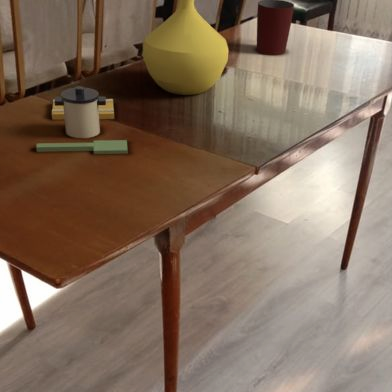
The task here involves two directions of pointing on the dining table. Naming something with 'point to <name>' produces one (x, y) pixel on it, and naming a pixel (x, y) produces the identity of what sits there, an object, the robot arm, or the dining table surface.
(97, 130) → the pot
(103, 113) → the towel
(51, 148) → the spatula
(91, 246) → the dining table surface
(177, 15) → the vase
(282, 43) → the mug
